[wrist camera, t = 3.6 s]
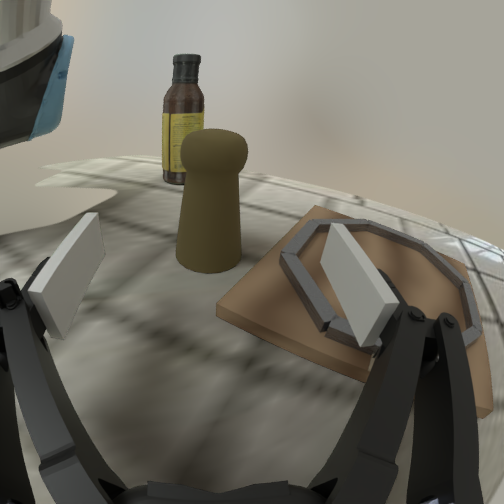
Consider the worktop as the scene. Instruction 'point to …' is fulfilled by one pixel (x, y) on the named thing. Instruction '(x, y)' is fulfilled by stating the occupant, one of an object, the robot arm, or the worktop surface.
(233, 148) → the cork
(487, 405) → the walnut board
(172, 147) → the sauce bottle
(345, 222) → the steel ring
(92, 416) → the worktop surface
